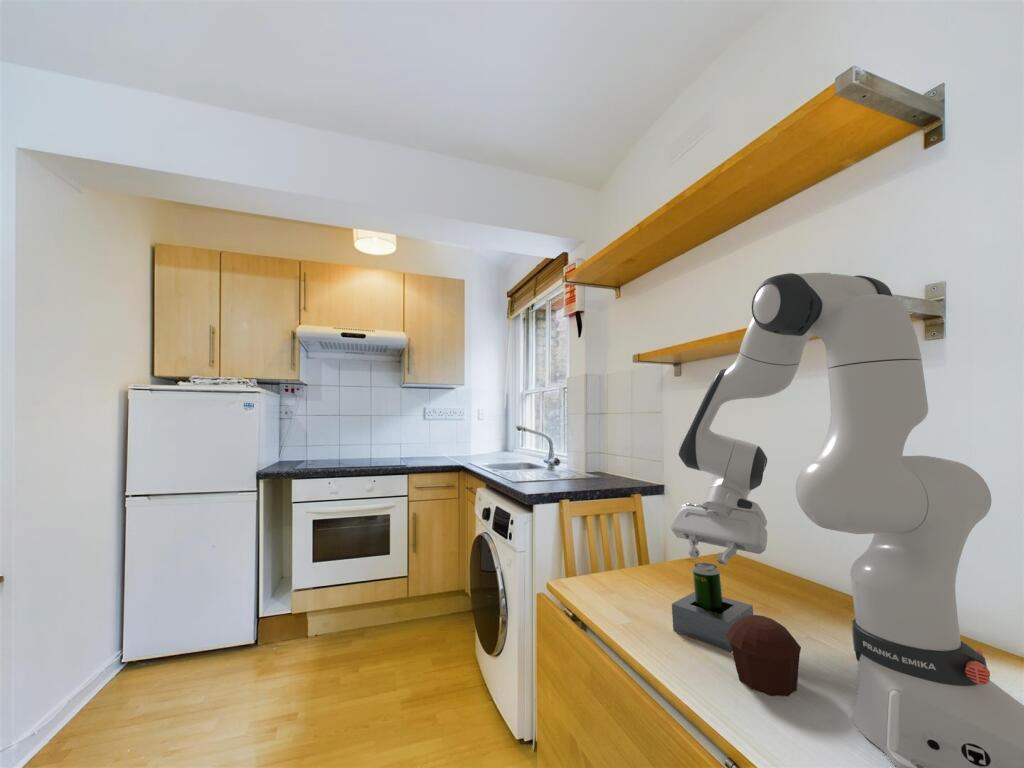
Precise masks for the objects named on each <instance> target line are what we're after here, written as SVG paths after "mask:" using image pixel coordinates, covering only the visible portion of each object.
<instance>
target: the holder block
mask: <svg viewBox="0 0 1024 768" xmlns="http://www.w3.org/2000/svg"><path fill="white" fill-rule="evenodd" d="M722 601H723V611H724V612H723V613H721V614H719V613H715V612H712V611H709V610H706V609H703V608H700V607H697V606H696V600H695V591H693V592H692V593H690V594H687V595H686V596H684V597H682V598H679V600H676V601H675V602H673V603H671V612H672V613H671V614H672V615H671V616H672V629H673V631H674V632H676V633H679V634H682V635H683V636H684V635H685V636H687V637H690V638H693V639H695V640H698V641H700V642H703V643H705V644H708V645H711V646H713V647H715V648H719V649H721V650H723V651H726V652H728V653H732V648H731V643H730V642H729V640H728V638H727V636H726V633H727V631H728V630H729V629H730V627H731V626H732V625H733V624H734V622H735V621H736V620H738V619H740V618H742V617H745V616H748V615H754V607H753V604H750V603H746V602H742V601H739V600H735V599H731V598H727V597H725V596H722Z"/></svg>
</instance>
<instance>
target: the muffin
mask: <svg viewBox="0 0 1024 768" xmlns="http://www.w3.org/2000/svg"><path fill="white" fill-rule="evenodd" d="M726 636H727V638H728V640H729V642H730V643H731V648H732V651H731V653H732V656H733V660H734V665H735V669H736V672H737V675H738V676H737V678H738V680H739V681H740V682H741V683H742V684H744V685H746V686H747V687H748V688H749V689H751V690H752V691H755V692H759V693H762V694H764V695H766V696H767V695H768V696H770V697H790V696H791V695H792V694H793V693H795V692H796V691H797V688H798V679H799V678H798V677H799V665H800V654H801V650H802V647H801V645H800V644H799V643H798V641H797V640H796V638H794V637H793V636H792V634H791V632H790V631H789V630H788V629H787V628H786V627H785V626H784V625H783V624H781V623H779V622H777V621H776V620H775V619H773V618H770V617H768V616H764V615H759V614H753V615H748V616H745V617H742V618H740V619H738V620H736V621H735V622H734V624H733V625H732V626H731V627H730V629H729V630H728V631H727V633H726ZM790 694H791V695H790Z"/></svg>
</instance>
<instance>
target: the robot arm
mask: <svg viewBox="0 0 1024 768" xmlns="http://www.w3.org/2000/svg"><path fill="white" fill-rule="evenodd" d="M751 314H752V318H751V320H750V322H749V324H748V326H747V329H746V330H745V333H744V336H743V338H742V341H741V344H740V348H739V350H738V351H739V353H738V355H737V357H736V359H735V361H734V362H733V363H732V364H731V365H729V367H727V368H724V369H723V368H722V369H721V370H719V371H718V372H717V374H715V376H714V378H713V379H712V381H711V382H710V385H709V387H708V389H707V391H706V393H705V395H704V397H703V399H702V401H701V403H700V406H699V408H698V410H697V412H696V414H695V416H694V418H693V420H692V423H691V425H690V427H689V428H688V429H687V431H686V432H685V434H684V435H683V437H682V439H681V441H680V443H679V446H678V447H679V448H678V457H679V458H680V460H681V462H682V463H683V464H684V465H685V467H686V468H688V469H693V470H697V471H701V472H702V471H703V472H706V473H708V474H711V475H712V477H711V484H710V485H709V487H708V489H707V491H706V493H705V496H704V500H703V502H702V504H700V503H699V504H698V503H691V502H686V503H685V504H683V505H681V506H679V509H678V511H677V512H676V514H675V515H674V518H673V519H672V521H671V524H670V529H671V531H672V532H673V534H674V536H675V537H676V538H679V539H683V540H688V543H689V546H690V549H689V551H688V556H690V558H693V559H699V556H700V554H701V551H699V549H698V547H696V546H699V543H702V544H708V545H713V546H718V547H722V548H726V549H725V550H724V551H723V552H718V554H717V557H716V561H717V563H718V564H719V565H723V566H727V565H728V564H729V563H728V562H729V560H730V559H731V558H732V557H734V556H735V555H736V554H737V551H742V552H747V553H752V554H757V555H760V554H762V553H764V552H765V551H766V548H767V543H768V530H767V528H766V527H767V525H768V521H767V518H766V516H765V513H764V511H763V510H762V508H761V507H760V505H759V504H758V503H757V502H755V501H751V500H749V499H748V497H749V494H751V492H752V491H753V490H755V489H757V488H758V487H760V486H761V484H762V482H763V477H764V471H765V470H766V467H767V464H768V457H767V455H766V454H765V452H764V450H763V449H762V448H761V447H760V446H759V445H756V444H754V443H751V442H747V441H745V440H741V439H738V438H732V437H730V436H726V435H723V434H719V433H716V432H714V431H712V430H711V429H710V428H711V426H712V424H713V421H714V420H715V418H716V416H717V414H718V412H719V410H720V407H721V406H722V405H724V404H725V403H728V402H730V401H734V400H743V399H757V398H758V399H759V398H760V399H761V398H766V397H771V396H773V395H776V394H778V393H781V392H783V391H784V390H785V389H787V388H788V387H789V386H790V385H791V383H792V382H793V380H794V378H795V376H796V373H797V372H798V368H799V366H800V363H801V361H802V356H803V354H804V349H805V347H806V345H807V342H808V341H809V340H810V339H811V338H812V337H814V338H815V337H818V338H819V339H820V340H821V341H822V342H823V344H824V347H825V353H826V354H825V355H826V357H825V358H826V366H827V369H826V370H827V376H828V377H827V379H828V387H829V388H828V389H829V401H830V403H829V405H830V406H829V407H830V417H829V425H828V429H827V433H826V436H825V439H824V441H823V444H822V446H821V448H820V450H819V452H817V454H816V456H815V457H814V458H813V459H812V461H811V462H809V464H807V465H806V466H804V467H803V468H802V470H800V471H799V474H798V476H797V479H796V483H795V495H796V496H795V497H796V499H797V503H798V505H799V507H800V509H801V511H802V512H803V513H804V515H805V516H806V517H807V518H808V520H810V521H811V522H812V523H813V524H815V525H817V526H818V527H819V528H820V527H821V528H823V529H827V530H832V531H836V532H841V533H848V534H853V535H854V534H855V535H869V534H870V535H871V534H872V535H873V537H872V540H871V541H870V544H869V546H868V547H867V549H866V551H864V553H862V554H861V555H860V556H859V557H858V558H856V560H855V561H854V562H853V563H852V565H851V568H850V574H849V575H850V583H851V584H850V585H851V590H852V592H851V593H852V602H853V603H852V604H853V611H854V619H853V620H852V621H851V623H852V624H851V625H852V626H851V635H852V644H853V651H854V652H855V659H856V661H857V662H858V663H857V665H858V666H857V670H858V671H857V673H858V674H857V689H856V690H857V691H856V697H855V702H854V705H853V710H852V713H851V718H852V721H853V723H854V725H855V727H856V728H857V729H858V730H859V732H860V733H861V734H862V735H863V736H864V737H865V738H866V739H867V740H868V741H870V742H871V743H873V745H875V746H876V747H878V748H879V749H880V750H881V751H883V753H884V754H885V755H886V757H887V758H888V759H889V760H890V761H891V763H892V764H893V765H894V766H895V767H896V768H1024V704H1022V703H1021V702H1020V701H1018V699H1015V698H1014V697H1013V696H1012V695H1010V694H1009V693H1008V692H1006V691H1005V690H1004V689H1002V688H1001V687H1000V686H998V685H997V684H996V683H995V682H993V681H992V680H991V679H990V678H991V672H990V670H989V668H988V666H987V661H986V658H985V656H983V655H984V653H983V651H982V650H981V648H980V647H976V648H977V649H976V650H975V649H974V648H973V647H971V646H970V645H968V644H966V643H965V642H964V641H962V640H961V633H960V632H961V631H960V624H959V617H958V605H957V596H956V582H957V581H956V580H957V573H958V568H959V564H960V559H961V556H962V554H963V553H962V552H963V550H964V548H965V547H964V546H965V544H966V542H967V540H968V538H969V535H970V534H971V532H972V530H973V528H975V527H976V525H977V524H979V523H980V522H981V520H983V519H984V518H986V516H987V515H988V514H989V512H990V510H991V507H992V495H991V494H992V493H991V491H990V488H989V486H988V483H987V482H986V481H985V479H984V478H983V477H982V476H981V475H980V474H979V473H978V472H977V471H976V470H975V469H973V468H971V467H970V466H968V465H967V464H964V463H962V462H959V461H955V460H950V459H947V458H941V457H935V456H928V455H904V454H903V453H904V448H905V446H906V445H905V444H906V442H907V440H908V437H909V435H910V433H911V432H912V431H913V430H914V428H916V427H917V426H918V425H920V424H921V423H922V422H923V421H924V420H925V419H926V418H927V416H928V413H929V404H928V403H929V402H928V396H927V395H928V394H927V389H926V382H925V375H924V368H923V367H924V366H923V361H922V353H921V348H920V343H919V340H918V336H917V333H916V329H915V327H914V323H913V321H912V319H911V316H910V314H909V312H908V310H907V307H906V305H905V303H903V302H902V301H901V300H900V299H898V298H897V297H894V296H893V293H892V291H891V289H890V287H889V286H888V285H887V284H886V283H884V281H881V280H880V279H876V278H873V277H871V276H866V275H847V274H838V273H831V272H805V273H793V272H791V273H790V272H789V273H788V272H787V273H781V274H777V275H774V276H771V277H768V278H767V279H765V280H764V281H762V282H761V283H760V285H759V286H758V287H757V289H756V291H755V292H754V295H753V297H752V301H751Z"/></svg>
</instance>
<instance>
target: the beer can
mask: <svg viewBox="0 0 1024 768" xmlns="http://www.w3.org/2000/svg"><path fill="white" fill-rule="evenodd" d="M692 577H693V587H694V592H695V600H696V606H697V607H700V608H703V609H706V610H709V611H712V612H715V613H719V614H721V613H723V612H724V611H723V601H722V597H723V594H722V584H721V582H722V581H721V573H720V571H719V567H718V566H717V565H716V564H713V563H708V562H696V563H694V564H693V568H692Z"/></svg>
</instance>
